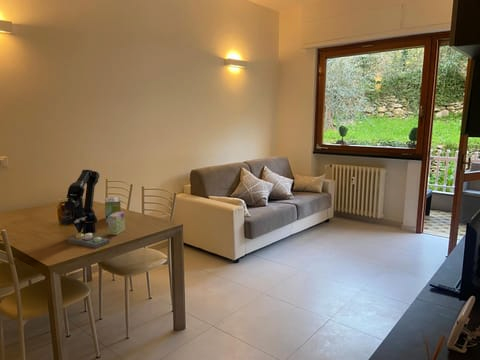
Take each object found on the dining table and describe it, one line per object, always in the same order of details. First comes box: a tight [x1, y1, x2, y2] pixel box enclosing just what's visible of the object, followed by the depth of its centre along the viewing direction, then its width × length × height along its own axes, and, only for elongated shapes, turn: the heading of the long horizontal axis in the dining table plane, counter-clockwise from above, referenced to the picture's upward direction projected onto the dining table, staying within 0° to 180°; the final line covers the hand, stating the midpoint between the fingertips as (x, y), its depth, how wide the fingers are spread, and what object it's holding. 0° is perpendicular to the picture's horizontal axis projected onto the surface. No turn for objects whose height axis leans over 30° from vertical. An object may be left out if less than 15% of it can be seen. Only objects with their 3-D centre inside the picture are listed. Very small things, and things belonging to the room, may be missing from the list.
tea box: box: [104, 196, 122, 224], centre depth 249 cm, size 15×10×15 cm, turn 22°
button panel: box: [67, 235, 111, 249], centre depth 205 cm, size 10×22×2 cm, turn 64°
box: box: [107, 211, 126, 236], centre depth 222 cm, size 10×6×12 cm, turn 171°
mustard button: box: [75, 233, 85, 239], centre depth 207 cm, size 4×4×3 cm
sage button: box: [93, 236, 102, 243], centre depth 201 cm, size 4×4×3 cm
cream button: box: [83, 233, 93, 240], centre depth 204 cm, size 4×4×3 cm
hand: (79, 232), depth 207 cm, fingers closed
